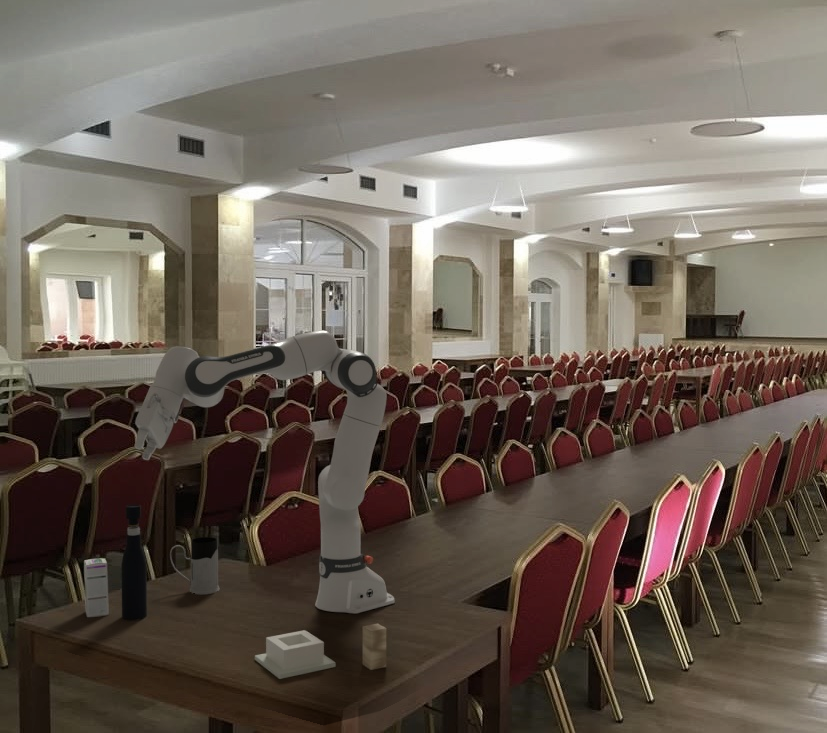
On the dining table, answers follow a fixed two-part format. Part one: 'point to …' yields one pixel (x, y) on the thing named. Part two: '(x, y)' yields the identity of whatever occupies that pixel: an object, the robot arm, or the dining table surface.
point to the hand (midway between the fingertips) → (141, 454)
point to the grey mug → (202, 565)
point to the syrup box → (96, 587)
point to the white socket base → (294, 654)
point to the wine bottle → (134, 570)
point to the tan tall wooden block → (374, 646)
